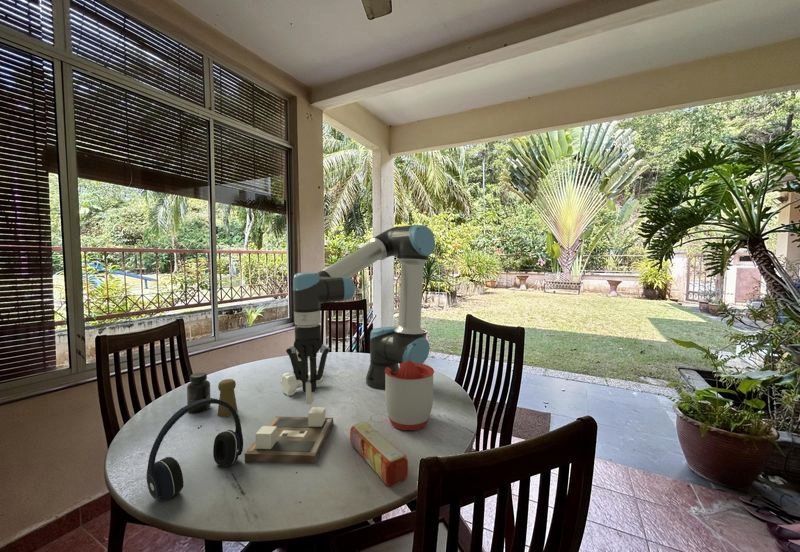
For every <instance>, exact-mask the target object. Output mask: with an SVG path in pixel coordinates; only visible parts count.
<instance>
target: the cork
mask: <svg viewBox="0 0 800 552" xmlns="http://www.w3.org/2000/svg"><path fill="white" fill-rule="evenodd" d="M236 385H237V383H236V380H234V379H233V378H227V379H222V380H220V381H219V383H218V386H217V387H218V391H219V399H218V400H221V401H223V402H226V403H228V404H229V405H230V406H232V407H233V409H234V410H235V411H236V412H237V413H238V404H237V399H236V392H235V388H236V387H237V386H236ZM230 416H233V415H232V413H231V412H230V411H229V409H227V408H226V407H224V406H222V405H220V404H218V406H217V417H221V418H224V417H225V418H226V417H230Z"/></svg>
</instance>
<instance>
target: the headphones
mask: <svg viewBox="0 0 800 552" xmlns="http://www.w3.org/2000/svg"><path fill="white" fill-rule="evenodd" d="M207 404H211V405H213V404H214V405H215V404H216V405H219V404H220V405H222V406H224V407H226V408H227V409H229V411H230V412H231V413H232V415H231V416H232V417H233V420H234V425H235V427H234V429H235V430H232V429H228V430H225V431H221V432H219V433H218V434H217V435H216V436H215V438H214V442H213V449H212V453H213V454H212V455H213V459H214V462H215V463H216V465H218V466H220V467H228V466H231V465H234V464H235V463H237V461H238V458H239V456H241V455H242V454H243V451H244V437H243V431H242V423H241V420H240V417H239V414H238V412H236V411H235V410H234V409H233V407H232V406H230V405H229V404H228V403H226V402H223V401H221V400H219V399H218V398H213V397H210V398H208V399H202V400H199V401H195V402H193V403H191V404H188V405H184V406H183V407H181V408H180V409H178V410H177V411H176V412H175V413H174V414H173V415H172V416H171V417H170V418H169V419H168V420H167V421H166V422H165V424H163V427H161V429H160V431H159V433H158V435H157V437H156V438H155V440H154V442H153V445H152V447H151V450H150V453H149V456H148V460H147V461H148V462H147V469H146V476H145V477H146V484H147V488H148V492H149V494H150V495H151V496H152V498H153V499H154V500H158V499H159V498H162V499H166V500H170V499H171V498H173V497H174V496H176V495H177V494H179V493H181V491H182V490H183V488H184V476H183V472H182V468H181V466H180V463H179V462H178V461H177V459H175V457H172V456H166V457H164V458H161V459H160V460H157V461H156V459H157V454H158V452H159V448H160V446H161V444H162V442H163V440H164V438H165V436H166V435H167V434H168V433H169V431H170V430H171V428H172V427H173V426H174V425H175V424H176V423H177V422H178V420H180V418H182V417H183V416H185V415H186V414H187V413H190V412H189V411H191V410H193V409H195V408H198V407H200V406H203V405H207Z"/></svg>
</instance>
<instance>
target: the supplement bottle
mask: <svg viewBox="0 0 800 552" xmlns="http://www.w3.org/2000/svg"><path fill="white" fill-rule="evenodd" d="M207 379H208V374H207V372H196V373H195V372H194V373H192V374H190V376H189V383H188V384H187V386H186V396H187V397H186V401H187V402H186V404H187V405H188V404H191V403H193V402H195V401H199V400H202V399H208V398H211V382H210V381H209V380H207ZM211 406H212V404H207V405H203V406H200V407H198V408H195V409H193V410H191V411H189V412H188V413H191V414H198V413H203V412H205V410H206V411H208V410H209V409H210V408H211ZM207 409H208V410H207Z"/></svg>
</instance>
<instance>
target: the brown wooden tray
mask: <svg viewBox="0 0 800 552" xmlns="http://www.w3.org/2000/svg"><path fill="white" fill-rule="evenodd" d="M333 425H334V417H325V422H324V424H323V426H322V427H312V426H308V416H275V418H274V419H272V421H271V422H270V423H269V424H268V426H277V442H276V443H275V444H274V446H273V447H272V448H271V449H256V440H255V441H254V442H253V443H252V445H251V446H249V448H247V450H246V451H245V453H244V462H252V463H253V462H257V463H259V462H260V463H287V464H288V463H291V464H292V463H293V464H294V463H295V464H297V463H298V464H315V463H316V462H317V460H318V457H319V455H320V453H321V451H322V450H323V447H324V444H325V443H326V441H327V437H328V436H329V434H330V432H331V430H332V427H333ZM325 440H326V441H325Z"/></svg>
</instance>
